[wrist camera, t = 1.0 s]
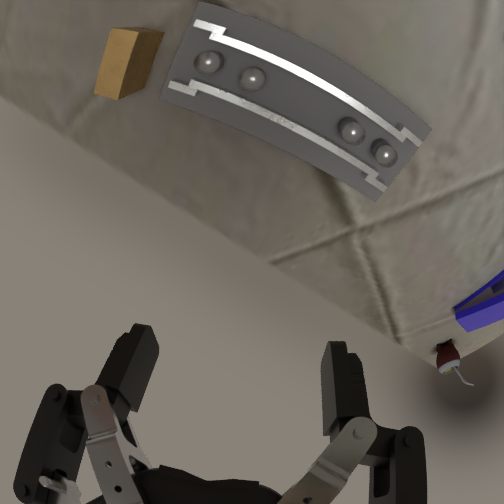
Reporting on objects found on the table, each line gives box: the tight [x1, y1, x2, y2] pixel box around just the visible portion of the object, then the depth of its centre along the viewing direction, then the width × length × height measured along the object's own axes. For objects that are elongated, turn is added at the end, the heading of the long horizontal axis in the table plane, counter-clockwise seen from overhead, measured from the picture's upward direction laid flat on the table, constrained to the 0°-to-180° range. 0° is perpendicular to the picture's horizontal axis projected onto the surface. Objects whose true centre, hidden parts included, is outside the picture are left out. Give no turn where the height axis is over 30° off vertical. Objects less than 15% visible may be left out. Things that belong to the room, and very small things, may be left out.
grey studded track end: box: [290, 78, 422, 192], centre depth 25 cm, size 13×8×3 cm, turn 65°
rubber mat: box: [159, 1, 432, 202], centre depth 24 cm, size 28×12×1 cm, turn 65°
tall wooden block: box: [94, 27, 164, 100], centre depth 20 cm, size 3×7×6 cm, turn 155°
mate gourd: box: [436, 339, 474, 385], centre depth 52 cm, size 8×8×15 cm
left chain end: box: [168, 19, 320, 129], centre depth 22 cm, size 13×8×3 cm, turn 65°
